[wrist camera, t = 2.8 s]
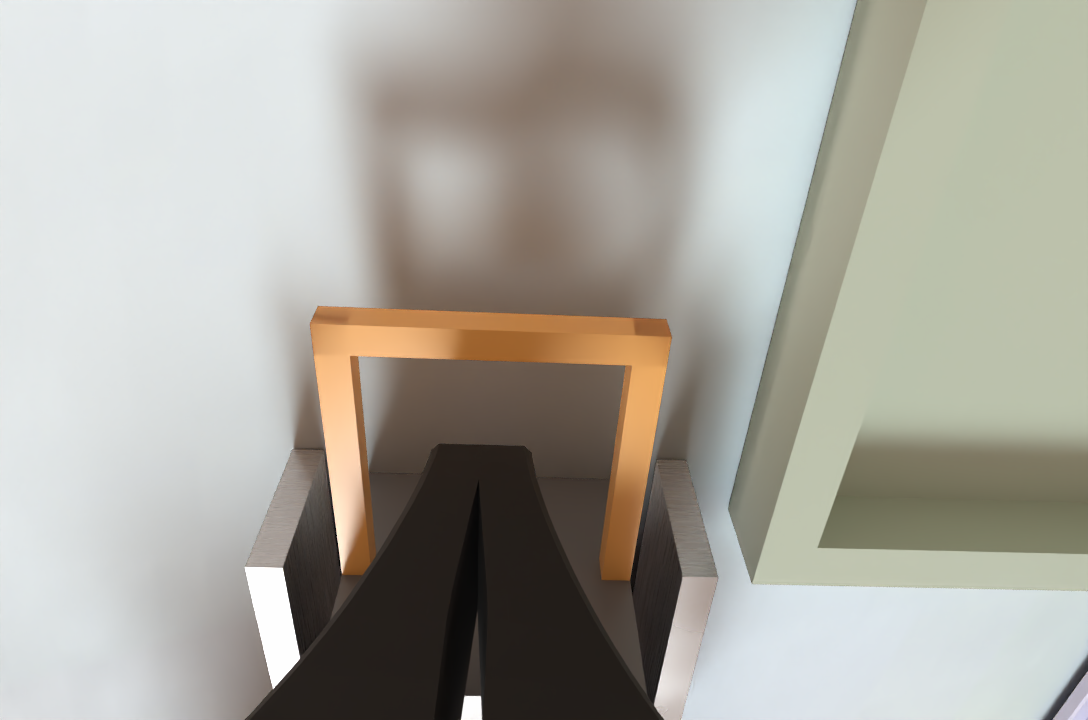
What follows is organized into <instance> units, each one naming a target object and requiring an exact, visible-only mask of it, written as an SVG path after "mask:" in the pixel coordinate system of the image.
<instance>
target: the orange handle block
mask: <svg viewBox="0 0 1088 720" xmlns="http://www.w3.org/2000/svg"><path fill="white" fill-rule="evenodd" d="M310 330H311V338H312V345H313V353H314V361H315V369H316V376H317V384H318V392H319V400H320V407H321V415H322V423H323V431H324V438H325V446H326V454H327V462H328V469H329V477H330V485H331V493H332V500H333V508H334V516H335V524H336V531H337V539H338V547H339V555H340V562H341V570H342V577H341V581H340V585H339V589H338V593H337V597H336V600H335V604H334V608H333V612H332V616H331V619H332V617H333V616H334V615H335V613H336V612H337V611H338V610H339V608H340V607H341V605H342V604H343V603H344V601H345V600H346V599H347V597H348V596H349V594H350V593H351V591H352V590H353V588H354V587H355V586H356V584H357V583H358V581H359V580H360V578H361V577H362V575H363V574H364V573H365V571H366V570H367V568H368V567H369V565H370V564H371V562H372V561H373V559H374V558H375V556H376V555H377V553H378V552H379V550H380V549H381V547H382V545H383V544H384V542H385V540H386V539H387V537H388V535H389V534H390V532H391V530H392V529H393V527H394V525H395V524H396V522H397V520H398V519H399V517H400V515H401V514H402V512H403V510H404V508H405V506H406V505H407V503H408V501H409V499H410V497H411V495H412V493H413V492H414V490H415V488H416V486H417V484H418V482H419V480H420V477H421V475H422V474H400V473H369V470H368V459H367V448H366V437H365V427H364V416H363V405H362V394H361V383H360V372H359V361H358V356H368V357H397V358H426V359H455V360H484V361H513V362H543V363H572V364H601V365H626V366H625V374H624V381H623V388H622V396H621V403H620V410H619V417H618V425H617V432H616V439H615V447H614V454H613V461H612V469H611V476H610V479H577V478H542V477H537V481H538V484H539V487H540V491H541V494H542V497H543V499H544V502H545V505H546V508H547V511H548V513H549V516H550V519H551V521H552V523H553V526H554V528H555V531H556V533H557V535H558V538H559V540H560V542H561V544H562V547H563V549H564V551H565V553H566V555H567V558H568V560H569V562H570V564H571V566H572V568H573V571H574V573H575V575H576V577H577V579H578V581H579V583H580V585H581V587H582V588H583V590H584V592H585V594H586V596H587V598H588V600H589V602H590V604H591V605H592V607H593V609H594V611H595V613H596V615H597V616H598V618H599V620H600V622H601V623H602V625H603V627H604V629H605V630H606V632H607V634H608V636H609V637H610V639H611V641H612V642H613V644H614V646H615V647H616V649H617V650H618V652H619V653H620V655H621V657H622V658H623V660H624V661H625V663H626V665H627V666H628V668H629V669H630V671H631V673H632V674H633V675H634V677H635V678H636V680H637V681H638V683H639V684H640V686H641V687H642V689H643V690H644V692H645V693H646V695H647V690H646V684H645V677H644V670H643V664H642V657H641V650H640V644H639V637H638V631H637V624H636V617H635V611H634V604H633V598H632V591H631V584H630V577H631V571H632V566H633V560H634V554H635V548H636V542H637V537H638V531H639V525H640V519H641V513H642V508H643V502H644V496H645V490H646V484H647V479H648V473H649V467H650V461H651V455H652V450H653V444H654V438H655V432H656V426H657V421H658V415H659V409H660V403H661V397H662V392H663V386H664V380H665V374H666V368H667V363H668V357H669V351H670V345H671V339H672V336H671V332H670V329H669V326H668V323H667V320H666V319H648V318H621V317H595V316H568V315H541V314H515V313H488V312H461V311H435V310H408V309H381V308H355V307H328V306H318V307H317V309H316V312H315V314H314V316H313V318H312V320H311V322H310ZM461 720H482V708H481V684H480V661H479V637H478V613H477V617H476V623H475V630H474V637H473V644H472V650H471V657H470V664H469V670H468V677H467V683H466V690H465V697H464V703H463V710H462V716H461Z"/></svg>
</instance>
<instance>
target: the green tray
mask: <svg viewBox="0 0 1088 720" xmlns="http://www.w3.org/2000/svg"><path fill="white" fill-rule="evenodd" d="M728 510H729V513H730V517H731V520H732V523H733V526H734V529H735V532H736V535H737V538H738V542H739V545H740V548H741V551H742V554H743V557H744V560H745V564H746V567H747V570H748V573H749V576H750V579H751V582H752V584H770V585H818V586H867V587H915V588H964V589H1012V590H1061V591H1088V0H858V1H857V5H856V9H855V13H854V17H853V21H852V25H851V29H850V33H849V37H848V41H847V44H846V48H845V52H844V56H843V60H842V64H841V68H840V72H839V76H838V80H837V84H836V88H835V92H834V95H833V99H832V103H831V107H830V111H829V115H828V119H827V123H826V127H825V131H824V135H823V139H822V143H821V146H820V150H819V154H818V158H817V162H816V166H815V170H814V174H813V178H812V182H811V186H810V190H809V194H808V197H807V201H806V205H805V209H804V213H803V217H802V221H801V225H800V229H799V233H798V237H797V241H796V245H795V249H794V252H793V256H792V260H791V264H790V268H789V272H788V276H787V280H786V284H785V288H784V292H783V296H782V300H781V303H780V307H779V311H778V315H777V319H776V323H775V327H774V331H773V335H772V339H771V343H770V347H769V351H768V354H767V358H766V362H765V366H764V370H763V374H762V378H761V382H760V386H759V390H758V394H757V398H756V402H755V405H754V409H753V413H752V417H751V421H750V425H749V429H748V433H747V437H746V441H745V445H744V449H743V453H742V457H741V460H740V464H739V468H738V472H737V476H736V480H735V484H734V488H733V492H732V496H731V500H730V504H729V508H728Z"/></svg>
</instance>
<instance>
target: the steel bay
mask: <svg viewBox="0 0 1088 720" xmlns="http://www.w3.org/2000/svg"><path fill="white" fill-rule="evenodd" d="M245 570H246V575H247V579H248V583H249V588H250V592H251V596H252V600H253V605H254V609H255V613H256V618H257V622H258V626H259V631H260V635H261V639H262V644H263V648H264V652H265V657H266V661H267V665H268V670H269V674H270V678H271V682H272V687H273V688H274V687H275V686H276V685H277V684H278V683H279V682H280V681H281V679H282V678H283V677H284V676H285V675H286V674H287V673H288V672H289V670H290V669H291V668H292V667H293V666H294V665H295V664H296V662H297V661H298V660H299V659H300V658H301V656H302V655H303V654H304V653H305V651H306V650H307V649H308V648H309V647H310V645H311V644H312V643H313V642H314V640H315V639H316V638H317V637H318V636H319V634H320V633H321V632H322V630H323V629H324V628H325V627H326V625H327V624H328V623H329V621H330V620H331V616H332V612H333V608H334V604H335V600H336V597H337V593H338V589H339V585H340V581H341V577H340V569H339V562H338V554H337V547H336V539H335V532H334V524H333V517H332V509H331V502H330V494H329V487H328V480H327V472H326V465H325V457H324V450H306V449H292V452H291V454H290V457H289V459H288V462H287V464H286V467H285V469H284V472H283V474H282V477H281V479H280V482H279V484H278V487H277V489H276V491H275V494H274V496H273V499H272V501H271V504H270V506H269V509H268V511H267V514H266V516H265V519H264V521H263V524H262V526H261V529H260V531H259V534H258V536H257V539H256V541H255V544H254V546H253V549H252V551H251V553H250V556H249V558H248V561H247V563H246V566H245ZM717 580H718V575H717V571H716V567H715V564H714V560H713V556H712V553H711V549H710V545H709V542H708V538H707V534H706V531H705V527H704V523H703V520H702V516H701V513H700V509H699V505H698V502H697V498H696V494H695V491H694V487H693V483H692V480H691V476H690V472H689V469H688V465H687V461H686V460H658V459H657V460H656V466H655V471H654V477H653V483H652V488H651V494H650V500H649V505H648V511H647V517H646V522H645V528H644V534H643V539H642V545H641V551H640V556H639V562H638V568H637V573H636V579H635V585H634V590H633V596H632V598H633V604H634V611H635V617H636V624H637V631H638V637H639V644H640V650H641V657H642V664H643V670H644V677H645V684H646V690H647V696H648V698H649V699H650V701H651V702H652V704H653V705H654V706H655V708H656V709H657V711H658V712H659V713H660V715H661V716H662V717H663V719H664V720H681V717H682V714H683V710H684V706H685V702H686V698H687V695H688V691H689V687H690V683H691V679H692V676H693V672H694V668H695V664H696V660H697V657H698V653H699V649H700V645H701V641H702V638H703V634H704V630H705V626H706V622H707V619H708V615H709V611H710V607H711V603H712V600H713V596H714V592H715V588H716V584H717Z"/></svg>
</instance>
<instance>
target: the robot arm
mask: <svg viewBox="0 0 1088 720" xmlns="http://www.w3.org/2000/svg"><path fill="white" fill-rule="evenodd" d="M477 613H478V637H479V661H480V684H481V708H482V720H664V719H663V717H662V716H661V715H660V713H659V712H658V711H657V709H656V708H655V706H654V705H653V704H652V702H651V701H650V699H649V698H648V696H647V695H646V693H645V692H644V690H643V689H642V687H641V686H640V684H639V683H638V681H637V680H636V678H635V677H634V675H633V674H632V673H631V671H630V669H629V668H628V666H627V665H626V663H625V661H624V660H623V658H622V657H621V655H620V653H619V652H618V650H617V649H616V647H615V646H614V644H613V642H612V641H611V639H610V637H609V636H608V634H607V632H606V630H605V629H604V627H603V625H602V623H601V622H600V620H599V618H598V616H597V615H596V613H595V611H594V609H593V607H592V605H591V604H590V602H589V600H588V598H587V596H586V594H585V592H584V590H583V588H582V587H581V585H580V583H579V581H578V579H577V577H576V575H575V573H574V571H573V568H572V566H571V564H570V562H569V560H568V558H567V555H566V553H565V551H564V549H563V547H562V544H561V542H560V540H559V538H558V535H557V533H556V531H555V528H554V526H553V523H552V521H551V519H550V516H549V513H548V511H547V508H546V505H545V502H544V499H543V497H542V494H541V491H540V487H539V484H538V481H537V477H536V474H535V469H534V465H533V460H532V453H531V452H530V451H529V450H528V449H527V448H526V447H525V446H504V445H466V444H439V445H437V446H436V447H435V448H434V449H432V451H431V454H430V456H429V459H428V462H427V464H426V466H425V469H424V471H423V473H422V475H421V477H420V480H419V482H418V484H417V486H416V488H415V490H414V492H413V493H412V495H411V497H410V499H409V501H408V503H407V505H406V506H405V508H404V510H403V512H402V514H401V515H400V517H399V519H398V520H397V522H396V524H395V525H394V527H393V529H392V530H391V532H390V534H389V535H388V537H387V539H386V540H385V542H384V544H383V545H382V547H381V549H380V550H379V552H378V553H377V555H376V556H375V558H374V559H373V561H372V562H371V564H370V565H369V567H368V568H367V570H366V571H365V573H364V574H363V575H362V577H361V578H360V580H359V581H358V583H357V584H356V586H355V587H354V588H353V590H352V591H351V593H350V594H349V596H348V597H347V599H346V600H345V601H344V603H343V604H342V605H341V607H340V608H339V610H338V611H337V612H336V613H335V615H334V616H333V617H332V619H331V620H330V621H329V623H328V624H327V625H326V627H325V628H324V629H323V630H322V632H321V633H320V634H319V636H318V637H317V638H316V639H315V640H314V642H313V643H312V644H311V645H310V647H309V648H308V649H307V650H306V651H305V653H304V654H303V655H302V656H301V658H300V659H299V660H298V661H297V662H296V664H295V665H294V666H293V667H292V668H291V669H290V670H289V672H288V673H287V674H286V675H285V676H284V677H283V678H282V679H281V681H280V682H279V683H278V684H277V685H276V686H275V687H274V688H273V690H272V691H271V692H270V693H269V694H268V695H267V696H266V697H265V698H264V700H263V701H262V702H261V703H260V704H259V705H258V706H257V707H256V709H255V710H254V711H253V712H252V713H251V714H250V715H249V716H248V717H247V718H246V719H245V720H461V716H462V710H463V703H464V697H465V690H466V683H467V677H468V670H469V664H470V657H471V650H472V644H473V637H474V630H475V623H476V617H477ZM1053 720H1088V671H1087V673H1086V674H1085V675H1084V677H1083V678H1082V680H1081V681H1080V682H1079V684H1078V685H1077V687H1076V688H1075V689H1074V691H1073V692H1072V693H1071V695H1070V696H1069V698H1068V699H1067V700H1066V702H1065V703H1064V705H1063V706H1062V707H1061V709H1060V710H1059V711H1058V713H1057V714H1056V716H1055V717H1054V718H1053Z"/></svg>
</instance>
